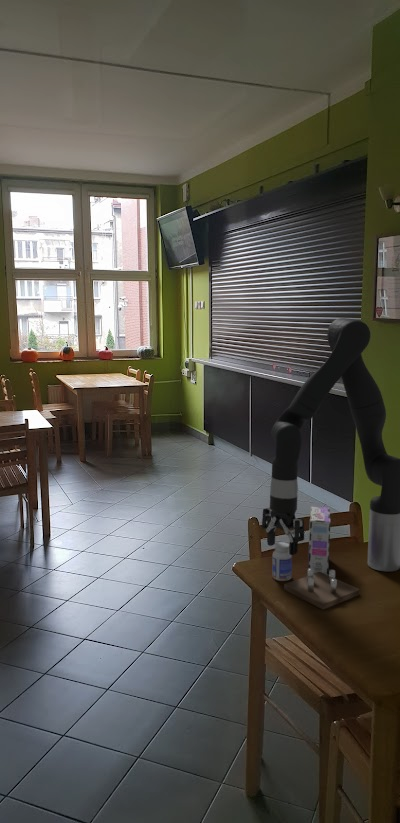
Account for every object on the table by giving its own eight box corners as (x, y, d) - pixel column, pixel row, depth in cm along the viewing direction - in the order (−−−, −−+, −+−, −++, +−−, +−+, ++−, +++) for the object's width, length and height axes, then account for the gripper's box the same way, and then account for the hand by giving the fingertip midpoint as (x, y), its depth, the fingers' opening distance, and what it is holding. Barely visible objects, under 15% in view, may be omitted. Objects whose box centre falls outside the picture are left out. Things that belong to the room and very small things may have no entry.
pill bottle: (294, 576, 170) (295, 543, 169) (286, 583, 166) (287, 549, 164) (277, 572, 173) (277, 539, 172) (268, 578, 169) (269, 545, 167)
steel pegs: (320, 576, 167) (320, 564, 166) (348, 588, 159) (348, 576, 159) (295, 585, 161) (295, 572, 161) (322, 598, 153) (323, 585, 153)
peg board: (319, 576, 170) (319, 571, 170) (359, 594, 159) (359, 589, 159) (283, 589, 162) (284, 584, 162) (323, 609, 151) (323, 604, 150)
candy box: (328, 577, 170) (330, 521, 167) (307, 575, 171) (309, 520, 168) (328, 558, 183) (330, 506, 180) (308, 557, 184) (310, 505, 182)
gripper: (312, 497, 162) (309, 554, 164) (275, 485, 173) (273, 539, 176) (292, 502, 158) (290, 560, 160) (256, 489, 169) (254, 544, 171)
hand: (281, 549), depth 168 cm, fingers open, 8 cm apart
